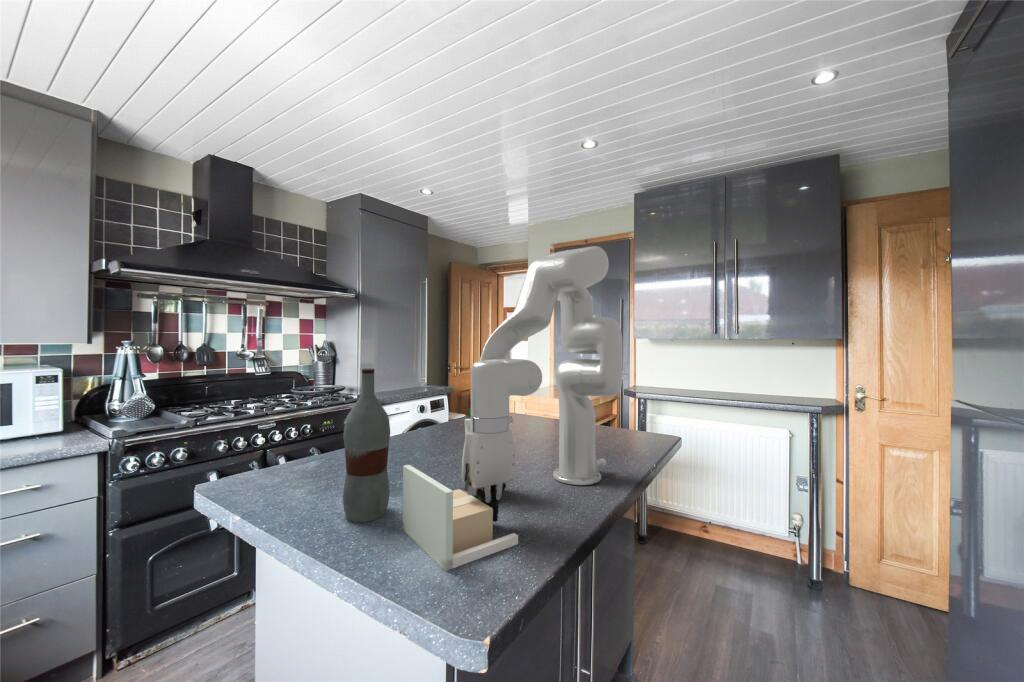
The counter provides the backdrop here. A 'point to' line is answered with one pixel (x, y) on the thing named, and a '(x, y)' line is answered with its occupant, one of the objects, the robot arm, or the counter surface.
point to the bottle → (366, 456)
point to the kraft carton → (470, 522)
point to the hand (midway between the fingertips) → (489, 519)
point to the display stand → (439, 521)
